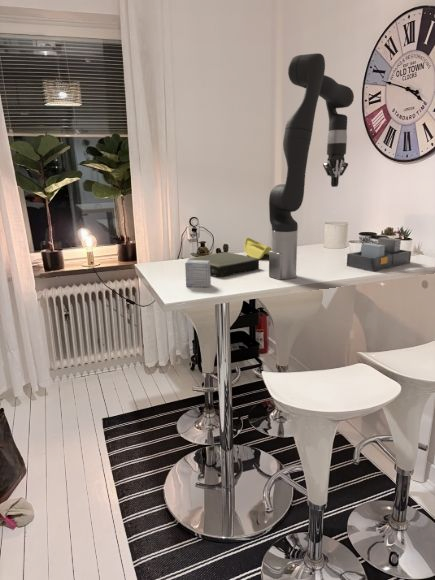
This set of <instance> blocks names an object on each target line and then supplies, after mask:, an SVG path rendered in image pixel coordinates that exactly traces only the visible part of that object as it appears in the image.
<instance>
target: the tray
mask: <svg viewBox="0 0 435 580" xmlns="http://www.w3.org/2000/svg"><path fill="white" fill-rule="evenodd" d="M401 241H402V239H400V238H399V239H398V238H391V237H386V236H385V237H378V239H377V244H378V245H384V246H385V250H384V256H381V257H376V258H370V257H365V256H361V252H362V250H361V251H360V250H359V251H355V252H350V253H347V254H346V256H347V257H346V267H351V268H354V269H358V270H364V271H369V272H371V273H372V272H377V271H381V270H386V269H391V268H395V267H399V266H403V265H407V264H411V256H412V251H411V250H406V249H401Z"/></svg>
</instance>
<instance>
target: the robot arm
mask: <svg viewBox="0 0 435 580" xmlns="http://www.w3.org/2000/svg"><path fill="white" fill-rule="evenodd" d="M288 63H289V64H288V67H287V73H288V75H287V76H288V79H289V81H290V82H291V84H293V85H295V86H297V87H300V88H304V89H305V91H304V94H303V96H302V99H301V101H300V102H299V104H298V105H297V107H296V108H295V110H294V111H293V112H292V113H291V114H290V117H288V120H287V121H286V124H285V128H284V135H283V142H282V148H283V153H284V156H285V159H286V165H287V172H286V178H285V179H286V180H285V184H284V183H283V184H282V183H281V184H276V185H275V186H273V187H272V189H271V190H270V193H269V197H268V205H269V206H268V209H269V210H268V211H269V215H268V216H269V222H270V225H271V247H270V248H271V251H270V252H269V255H268V277H270V278H274V279H277V280H291V279H295V278H296V277H297V263H298V262H297V260H298V259H297V258H298V257H297V256H298V253H297V252H298V228H299V226H298V222H297V221H296V220H295V219H294V218H293V216H292V213H293V212H296V211H298V210H299V209H300V208H301V206H302V204H303V202H304V201H303V200H304V194H305V185H306V184H305V181H306V174H307V172H306V170H307V164H308V158H309V151H310V146H311V141H312V135H313V128H314V121H315V115H316V110H317V107H318V106H317V105H318V101H319V97H321V98H322V99H323V100H324V101H325V105H326V110H327V114H328V134H327V143H326V144H327V145H326V154H327V156H328V157H327V159H326V160H327V161H326V162H325V163H324V162H323V164H322V167H323V169H324V170H325V171H324V172H326V174H327V176H329V177H331V179H330V186H331V187H333V188H335V187H336V188H337V187H338V186H339V178H340V177H341V176H343V174H344V173H345V172H346V170H347V168H348V166H349V163H348V162H346V161H345V155H346V154H347V146H348V145H347V143H348V142H347V141H348V133H347V131H348V116H347V115H346V114H344V113H343V114H342V113H338V112H337V109H344V108H348V107H350V106H351V105H352V104H353V102H354V99H355V96H354V91H353V89H351V87H349V86H347V85H344V84H340V83H338V82H337V81H336V80H335V79H334V78H332V77H330V76H328V75H325V72H326V60H325V57H324V55H323V54H321V53H318V52H317V53H316V52H315V53H308V54H307V53H306V54H300V55H299V54H298V55H296V56H294V57H292V58H291V59H290V61H289V62H288Z"/></svg>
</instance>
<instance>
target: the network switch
mask: <svg viewBox="0 0 435 580" xmlns="http://www.w3.org/2000/svg"><path fill="white" fill-rule="evenodd" d="M189 260H202V261H210V276H213V277H217V278H224V277H229V276H233V275H237V274H242V273H246V272H247V273H249V272H252V271H256V270H259V268H260V259H258V258H254V257H250V256H248V255H244V254H239V253H233V252H227V251H223V252H216V253H213V254H206V255H202V256H197V257H190V258H189V259H187V261H189Z"/></svg>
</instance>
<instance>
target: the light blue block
mask: <svg viewBox="0 0 435 580" xmlns="http://www.w3.org/2000/svg"><path fill="white" fill-rule="evenodd" d="M384 250H385V246H384V245H378V243H377V244H376V243H372V242H365V243H362V244H361V251H362V252H361V256H365V257H370V258H376V257H381V256H384Z"/></svg>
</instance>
